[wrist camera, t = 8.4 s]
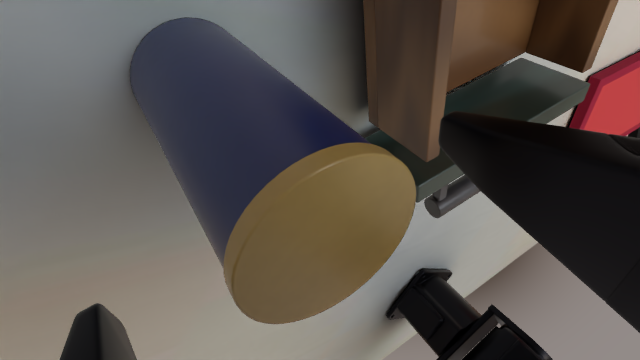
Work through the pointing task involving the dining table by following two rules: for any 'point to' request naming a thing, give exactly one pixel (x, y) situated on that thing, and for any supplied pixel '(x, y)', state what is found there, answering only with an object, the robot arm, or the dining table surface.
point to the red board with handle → (612, 100)
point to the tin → (269, 173)
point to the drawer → (470, 73)
